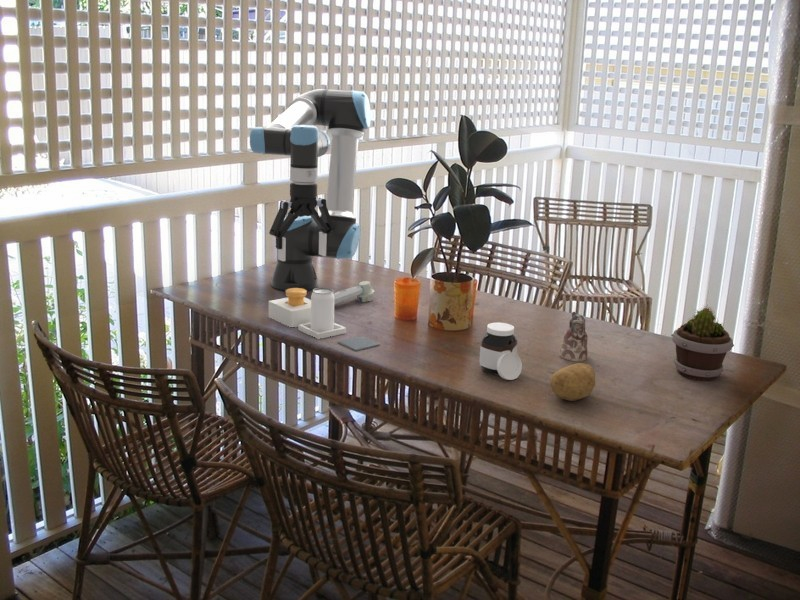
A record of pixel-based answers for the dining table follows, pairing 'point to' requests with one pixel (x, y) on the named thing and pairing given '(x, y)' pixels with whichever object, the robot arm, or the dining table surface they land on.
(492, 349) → the spread jar
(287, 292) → the plunger
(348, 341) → the mat
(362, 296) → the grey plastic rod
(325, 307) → the can
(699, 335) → the flowerpot
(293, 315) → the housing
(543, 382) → the dining table surface
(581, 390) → the potato
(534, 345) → the dining table surface
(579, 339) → the figurine
